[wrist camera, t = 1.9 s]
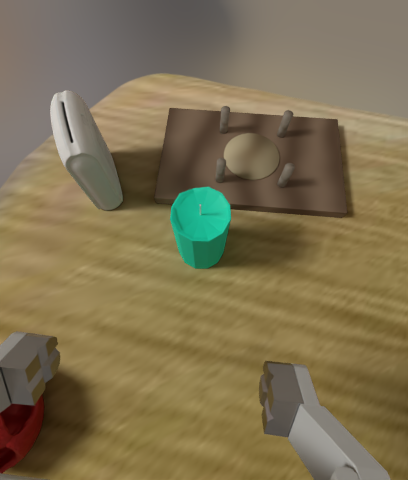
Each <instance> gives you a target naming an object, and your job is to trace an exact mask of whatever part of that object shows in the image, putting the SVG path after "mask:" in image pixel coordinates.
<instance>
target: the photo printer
mask: <svg viewBox="0 0 408 480" xmlns="http://www.w3.org/2000/svg"><path fill="white" fill-rule="evenodd" d="M50 110H51V111H50V115H51V123H52V129H53V134H54V138H55V142H56V146H57V149H58V152H59V155H60V158H61V160H62V162H63V164H64V166H65V168H66V169H67V171H68V172H69V173H70V175H71V176H72V177H73V178H74V180H75V181H76V182H77V183H78V185H79V186H80V187H81V189H82V190H83V191H84V192H85V194H86V195H87V196H88V197H89V199H90V200H91V201H92V202H93V203H94V205H95V206H96V207H97V208H98V209H103V210H112V209H115V208H116V207H118V206H119V205H120V204H121V202H123V196H122V190H121V186H120V182H119V178H118V175H117V171H116V168H115V164H114V161H113V158H112V155H111V153H110V151H109V149H108V147H107V145H106V143H105V141H104V139H103V137H102V135H101V133H100V131H99V129H98V127H97V125H96V123H95V121H94V119H93V117H92V115H91V113H90V111H89V109H88V107H87V105H86V103H85V102H84V100H83V99H82V98H81V97H80V96H79V95H78V94H76V93H74V92H72V91H68V90H66V91H64V92H62V93H56V94H55V95H54V97H53V99H52V102H51V107H50Z"/></svg>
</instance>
